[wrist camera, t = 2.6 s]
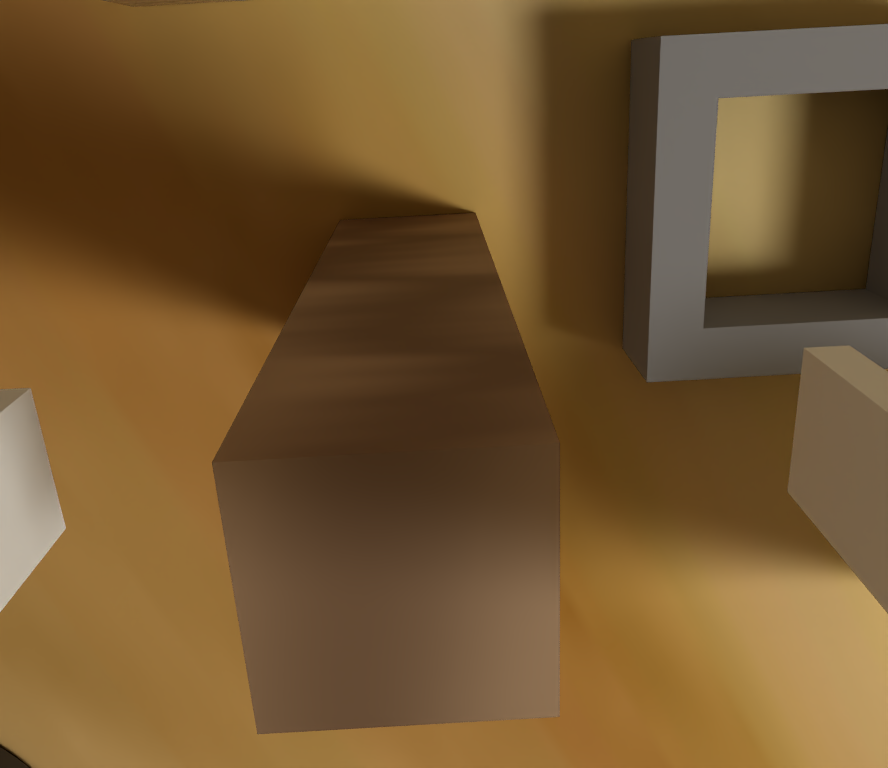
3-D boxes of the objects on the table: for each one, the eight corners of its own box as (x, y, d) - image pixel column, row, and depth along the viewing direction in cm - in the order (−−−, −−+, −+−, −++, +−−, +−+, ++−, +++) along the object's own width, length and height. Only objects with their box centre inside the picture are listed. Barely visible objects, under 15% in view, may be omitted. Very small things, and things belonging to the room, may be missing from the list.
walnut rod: (351, 348, 26) (257, 734, 11) (340, 219, 24) (212, 463, 9) (479, 340, 26) (558, 717, 11) (475, 212, 24) (560, 443, 9)
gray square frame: (622, 348, 26) (646, 382, 23) (631, 39, 23) (661, 36, 20) (906, 332, 26) (965, 364, 23) (955, 22, 23) (1030, 16, 20)
